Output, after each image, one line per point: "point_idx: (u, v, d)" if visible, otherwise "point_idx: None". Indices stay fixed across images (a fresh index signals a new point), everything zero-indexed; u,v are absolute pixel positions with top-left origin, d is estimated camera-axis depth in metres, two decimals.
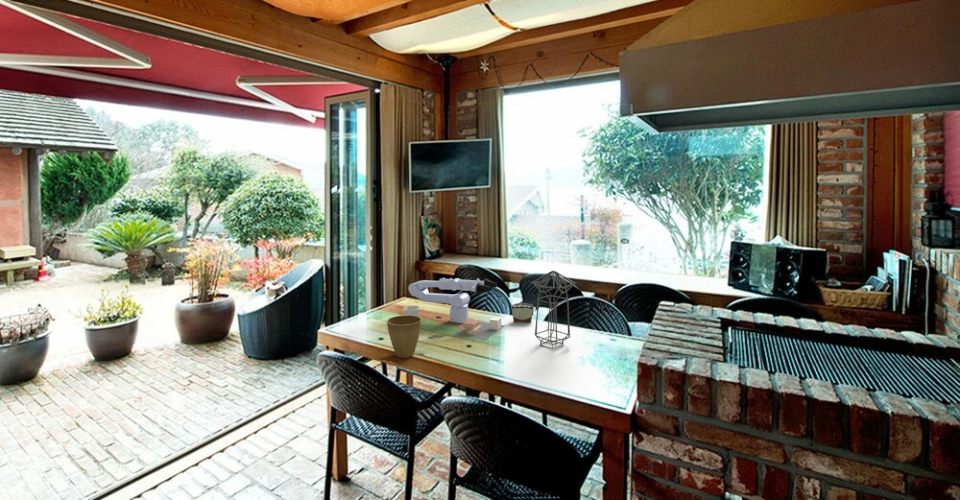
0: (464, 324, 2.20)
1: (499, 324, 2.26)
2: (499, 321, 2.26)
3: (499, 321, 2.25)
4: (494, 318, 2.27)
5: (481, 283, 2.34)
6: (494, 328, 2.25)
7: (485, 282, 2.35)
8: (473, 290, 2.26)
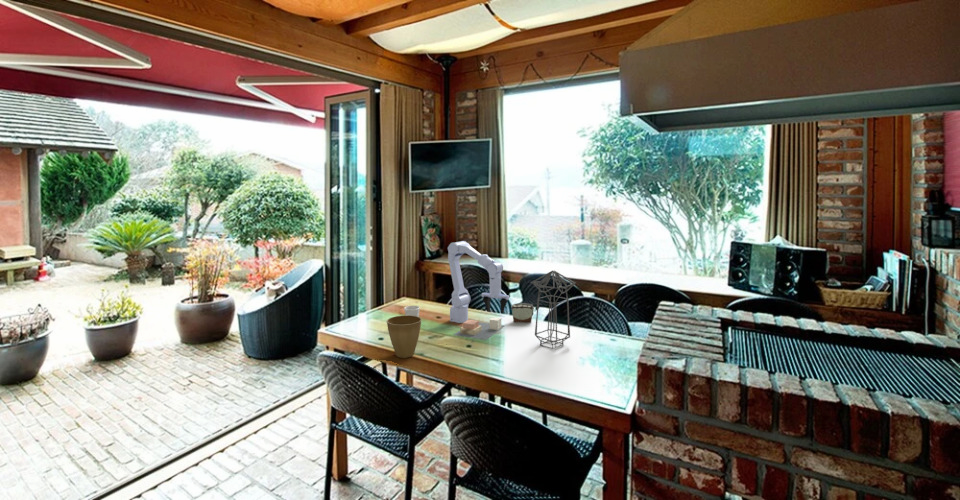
0: (464, 324, 2.20)
1: (499, 324, 2.26)
2: (499, 321, 2.26)
3: (499, 321, 2.25)
4: (494, 318, 2.27)
5: (498, 297, 2.23)
6: (494, 328, 2.25)
7: None
8: None
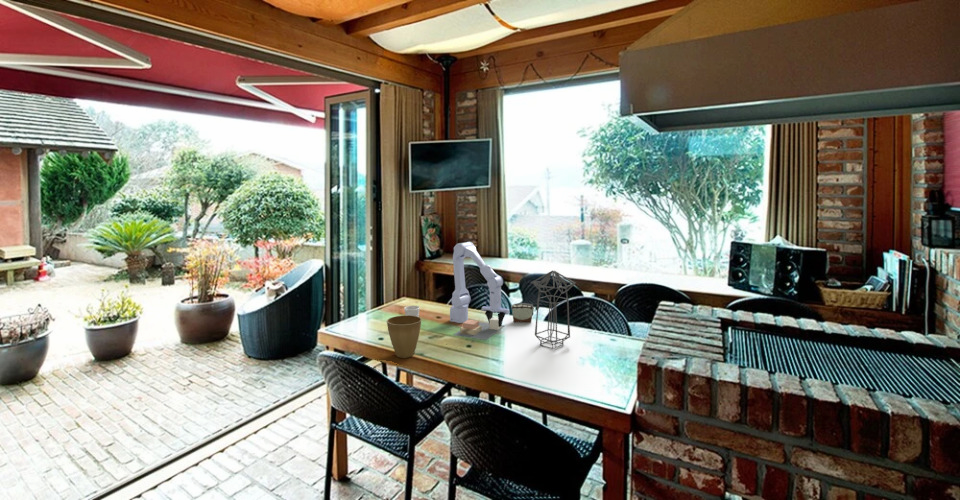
0: (464, 324, 2.20)
1: None
2: None
3: None
4: (494, 318, 2.27)
5: (498, 311, 2.24)
6: (494, 328, 2.25)
7: None
8: None
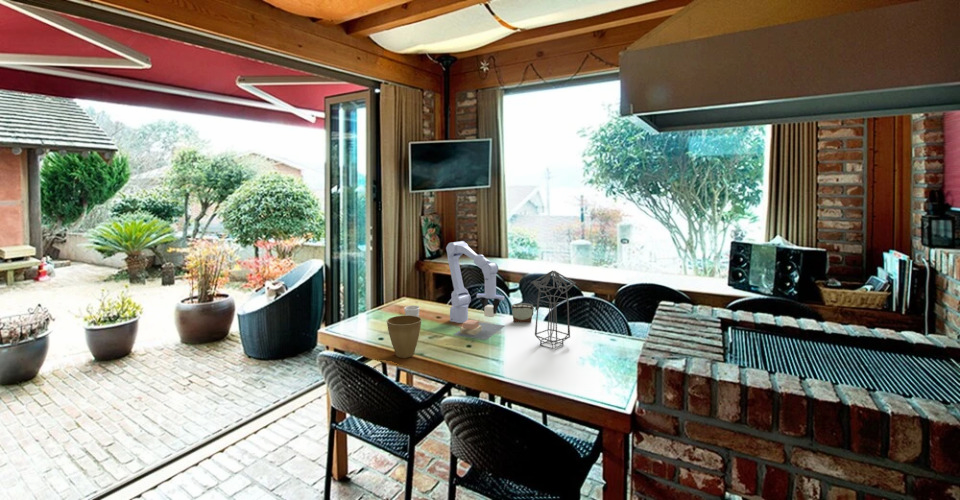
0: (464, 324, 2.20)
1: None
2: None
3: None
4: (489, 305, 2.25)
5: (493, 298, 2.22)
6: (489, 315, 2.23)
7: None
8: None
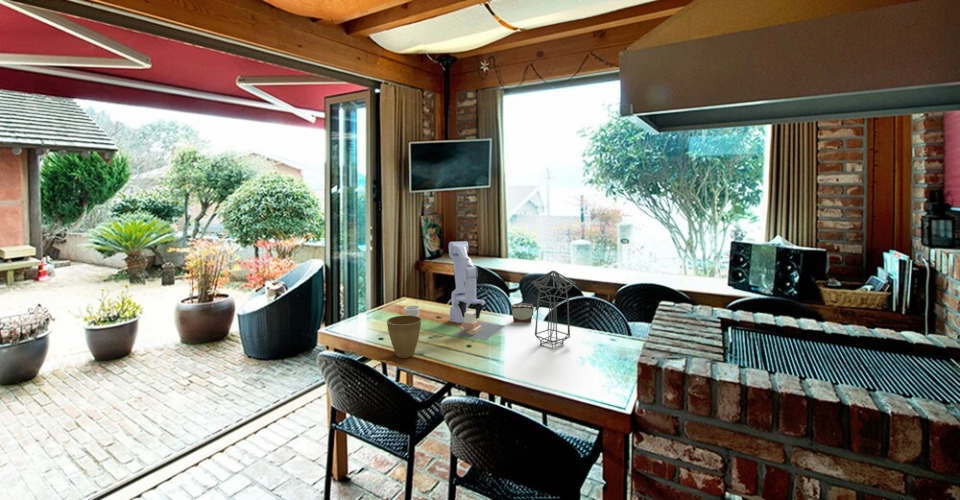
0: (464, 324, 2.20)
1: (474, 318, 2.20)
2: (474, 315, 2.20)
3: (474, 314, 2.20)
4: (469, 311, 2.22)
5: None
6: (469, 321, 2.19)
7: None
8: None
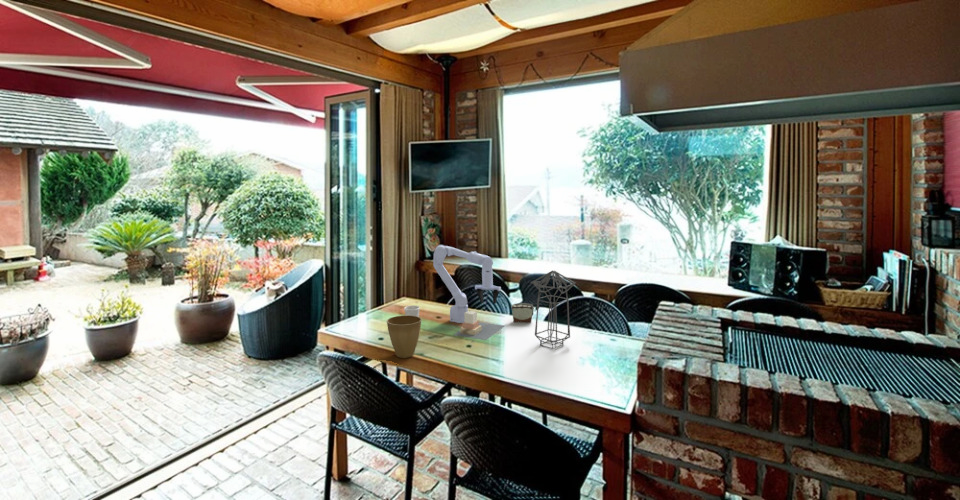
0: (464, 324, 2.20)
1: (474, 318, 2.20)
2: (474, 315, 2.20)
3: (474, 314, 2.20)
4: (469, 311, 2.22)
5: (490, 289, 2.37)
6: (469, 321, 2.19)
7: None
8: None
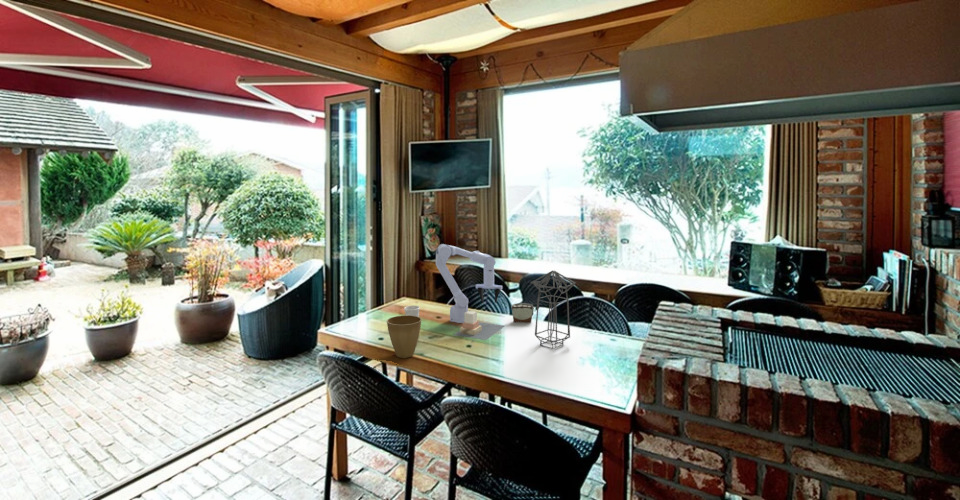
0: (464, 324, 2.20)
1: (474, 318, 2.20)
2: (474, 315, 2.20)
3: (474, 314, 2.20)
4: (469, 311, 2.22)
5: (492, 287, 2.40)
6: (469, 321, 2.19)
7: None
8: None
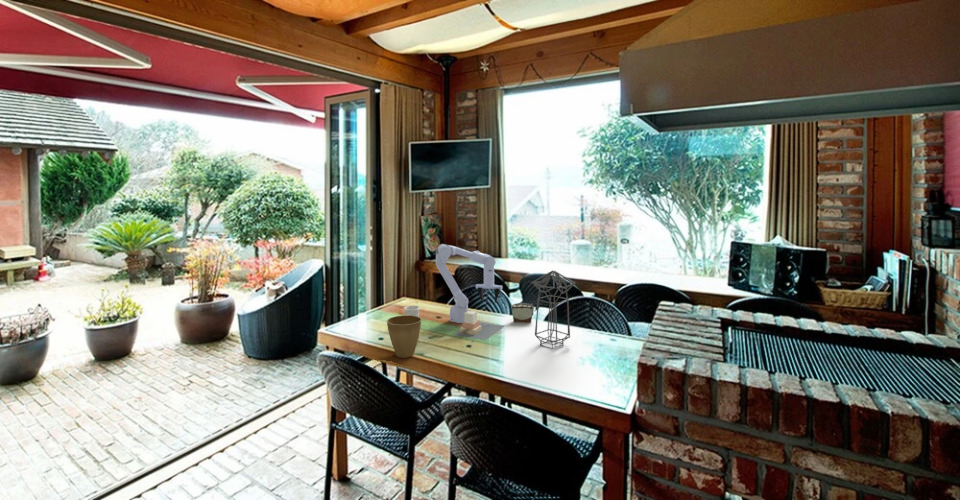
0: (464, 324, 2.20)
1: (474, 318, 2.20)
2: (474, 315, 2.20)
3: (474, 314, 2.20)
4: (469, 311, 2.22)
5: (492, 287, 2.40)
6: (469, 321, 2.19)
7: None
8: None
